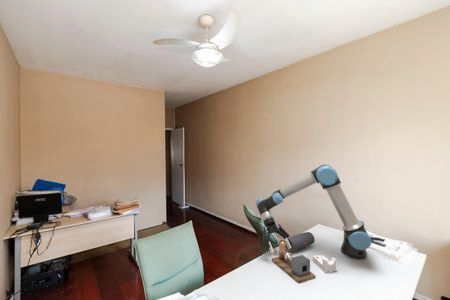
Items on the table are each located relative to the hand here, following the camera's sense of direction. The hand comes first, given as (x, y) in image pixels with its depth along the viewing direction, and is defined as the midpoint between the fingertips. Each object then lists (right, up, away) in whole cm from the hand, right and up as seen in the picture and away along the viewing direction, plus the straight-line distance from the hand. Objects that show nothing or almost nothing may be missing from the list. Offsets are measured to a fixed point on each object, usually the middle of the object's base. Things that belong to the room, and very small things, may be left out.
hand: (281, 250), depth 132 cm
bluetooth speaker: (+17, -7, +17) cm, 25 cm away
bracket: (+24, -7, -5) cm, 26 cm away
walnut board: (+4, -7, -7) cm, 11 cm away
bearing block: (+7, -5, -15) cm, 17 cm away
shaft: (+3, -5, -6) cm, 8 cm away
